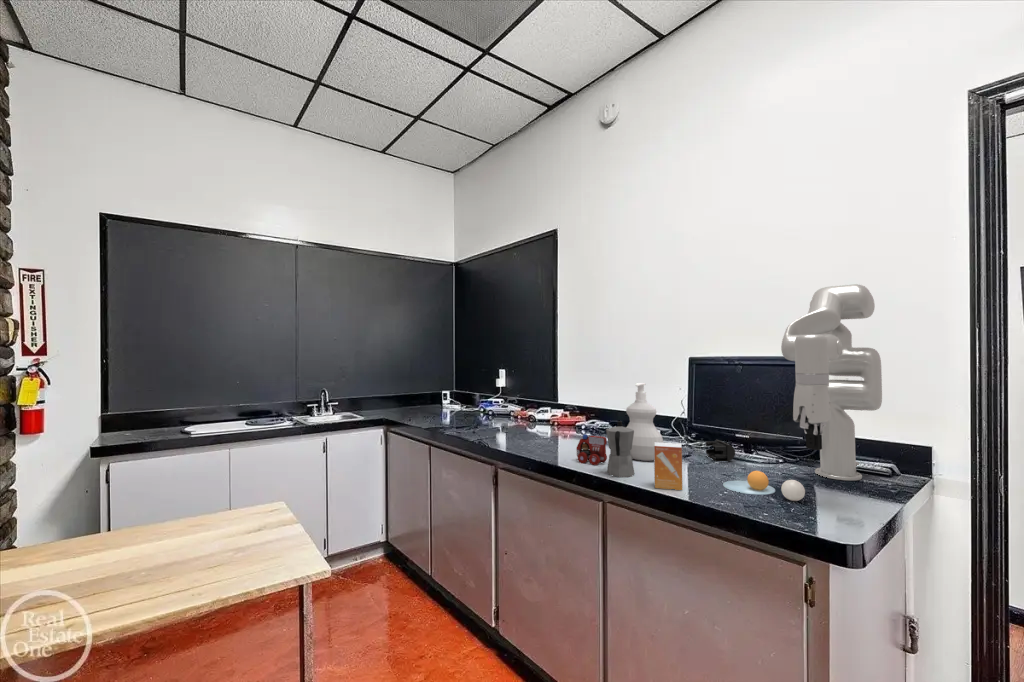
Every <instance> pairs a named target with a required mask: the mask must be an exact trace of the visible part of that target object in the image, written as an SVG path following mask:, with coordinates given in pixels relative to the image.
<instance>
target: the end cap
mask: <svg viewBox="0 0 1024 682" xmlns="http://www.w3.org/2000/svg"><path fill="white" fill-rule="evenodd" d="M705 447H713V448H706V449H705V453H706V457H707V456H708V457H710V458H712V459H713V460H715V461H729V462H730V461H731V460H733V459H734V457H735V456H736V449H735V448H734V446H732V445H730V444H729V443H728V442H727V443H726V442H724V441H722V440H719V439H715V441H714V440H713V441H708V440H707V441H705ZM708 457H707V458H708ZM713 460H712V461H713ZM715 461H714V462H715Z"/></svg>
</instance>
